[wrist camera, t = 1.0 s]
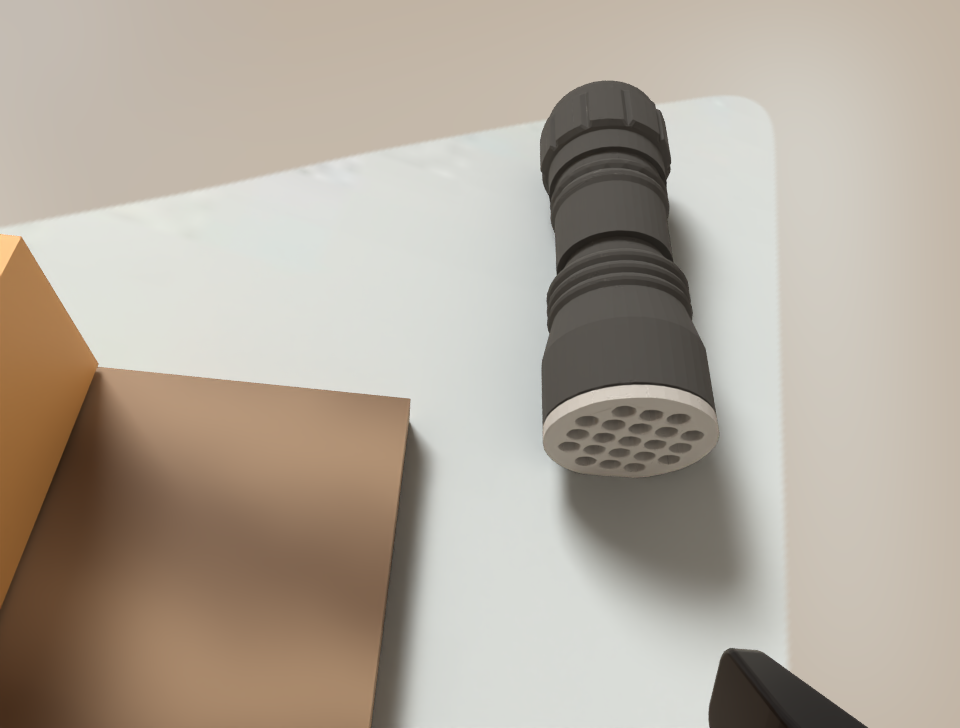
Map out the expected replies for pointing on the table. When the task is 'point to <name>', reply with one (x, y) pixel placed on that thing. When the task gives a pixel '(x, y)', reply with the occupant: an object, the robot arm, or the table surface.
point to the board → (207, 559)
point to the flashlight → (618, 296)
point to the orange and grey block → (33, 394)
